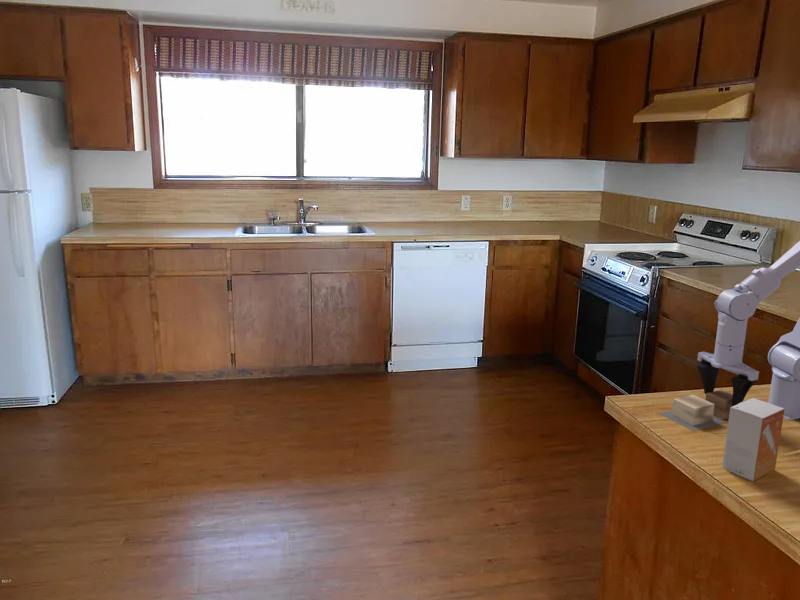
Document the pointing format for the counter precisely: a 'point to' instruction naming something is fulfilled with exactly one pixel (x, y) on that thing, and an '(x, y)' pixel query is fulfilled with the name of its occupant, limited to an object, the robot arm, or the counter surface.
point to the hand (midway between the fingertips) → (722, 399)
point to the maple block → (693, 409)
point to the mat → (689, 426)
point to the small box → (753, 438)
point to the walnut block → (720, 403)
